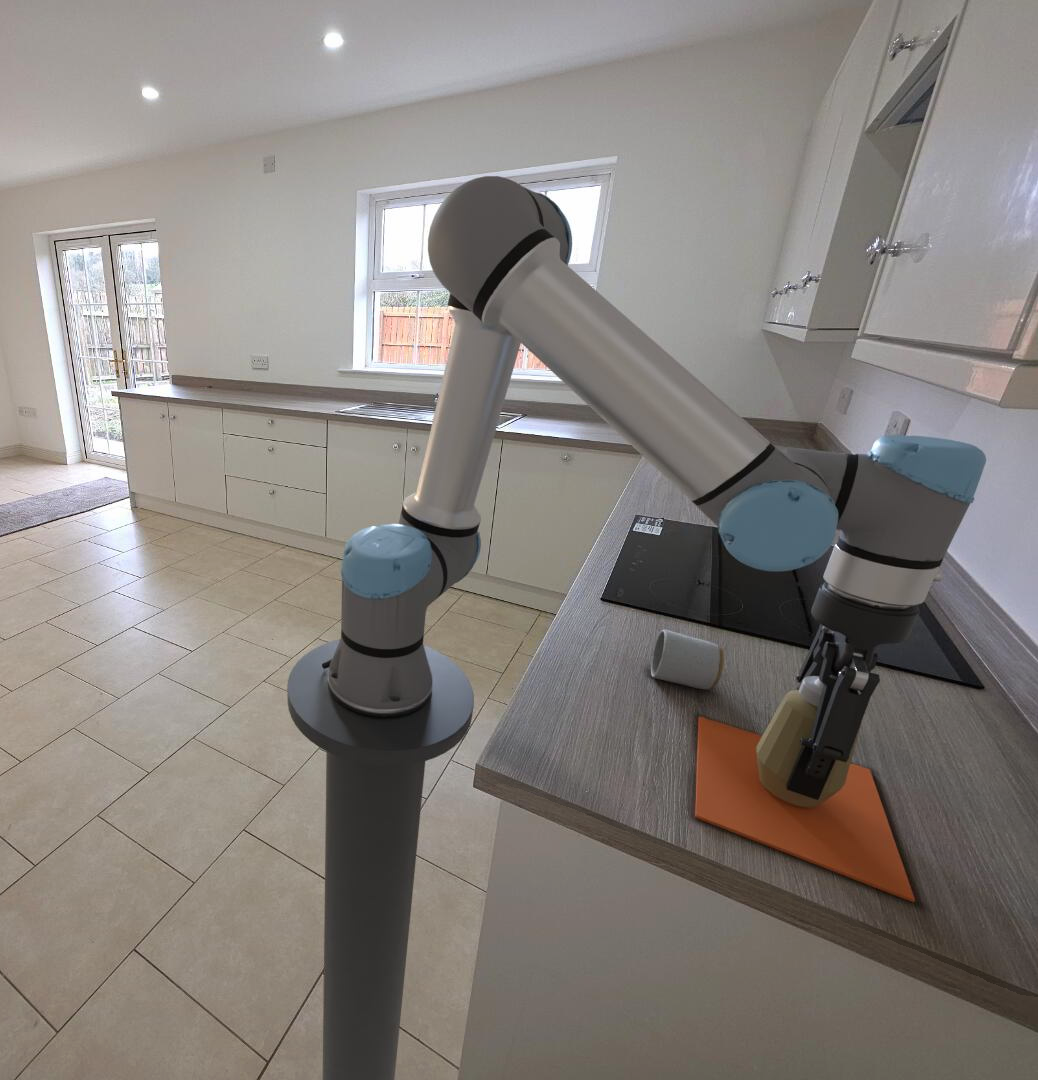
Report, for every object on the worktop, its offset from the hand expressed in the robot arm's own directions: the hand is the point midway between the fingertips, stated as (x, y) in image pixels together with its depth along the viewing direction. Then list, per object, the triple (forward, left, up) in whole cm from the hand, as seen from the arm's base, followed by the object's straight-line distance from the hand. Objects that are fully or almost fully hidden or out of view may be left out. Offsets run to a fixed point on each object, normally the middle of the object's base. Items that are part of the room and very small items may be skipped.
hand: (797, 767), depth 65 cm
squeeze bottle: (0, 0, -3) cm, 3 cm away
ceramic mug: (-12, +20, -4) cm, 24 cm away
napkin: (0, 0, -4) cm, 4 cm away
